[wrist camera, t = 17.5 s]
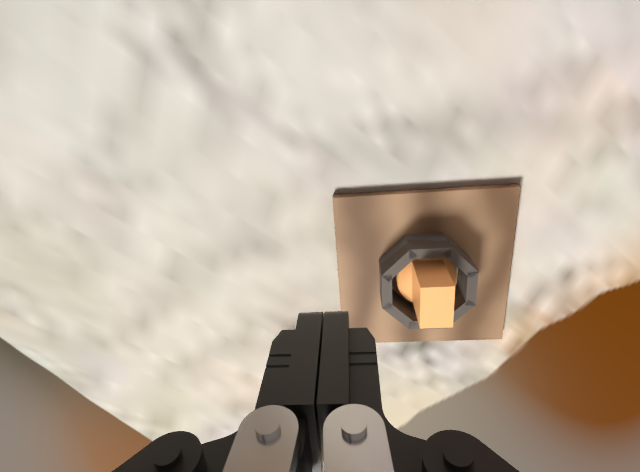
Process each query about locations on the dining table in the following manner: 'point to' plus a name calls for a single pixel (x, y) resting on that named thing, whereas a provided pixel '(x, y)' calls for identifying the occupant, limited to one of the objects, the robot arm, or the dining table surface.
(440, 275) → the peach knob
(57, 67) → the dining table surface
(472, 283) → the square base with nut
